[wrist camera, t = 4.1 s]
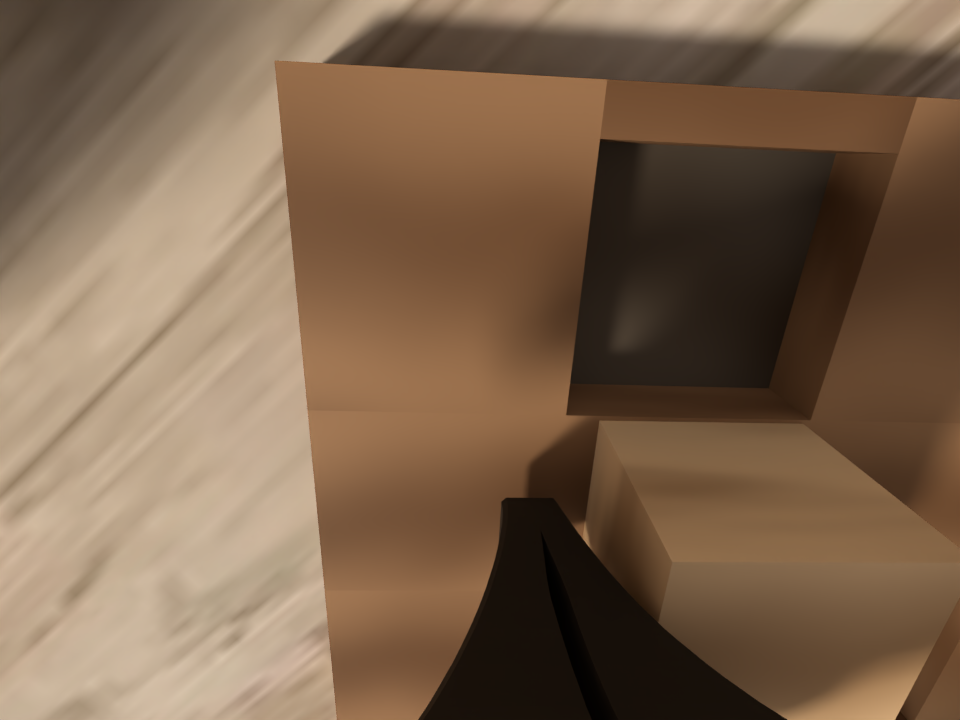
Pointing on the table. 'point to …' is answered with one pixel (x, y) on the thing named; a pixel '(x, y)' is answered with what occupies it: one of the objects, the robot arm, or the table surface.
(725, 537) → the block
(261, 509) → the table surface
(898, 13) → the table surface
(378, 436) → the wooden board with holes
